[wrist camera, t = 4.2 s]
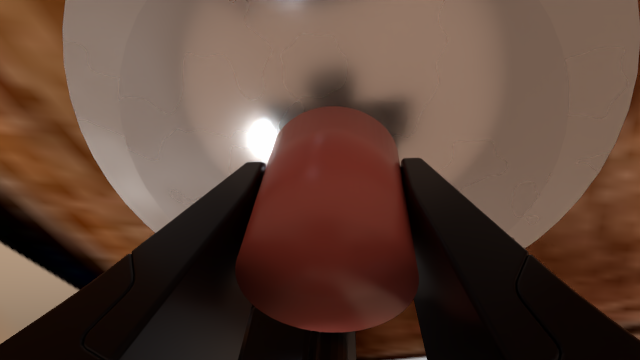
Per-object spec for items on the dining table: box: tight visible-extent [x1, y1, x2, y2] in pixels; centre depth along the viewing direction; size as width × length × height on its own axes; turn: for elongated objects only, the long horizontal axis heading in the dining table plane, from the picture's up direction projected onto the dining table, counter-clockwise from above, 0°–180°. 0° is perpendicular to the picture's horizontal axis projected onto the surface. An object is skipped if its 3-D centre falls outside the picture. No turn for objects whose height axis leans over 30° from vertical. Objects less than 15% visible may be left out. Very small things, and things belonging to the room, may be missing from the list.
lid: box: [63, 0, 640, 333], centre depth 8 cm, size 13×13×5 cm
